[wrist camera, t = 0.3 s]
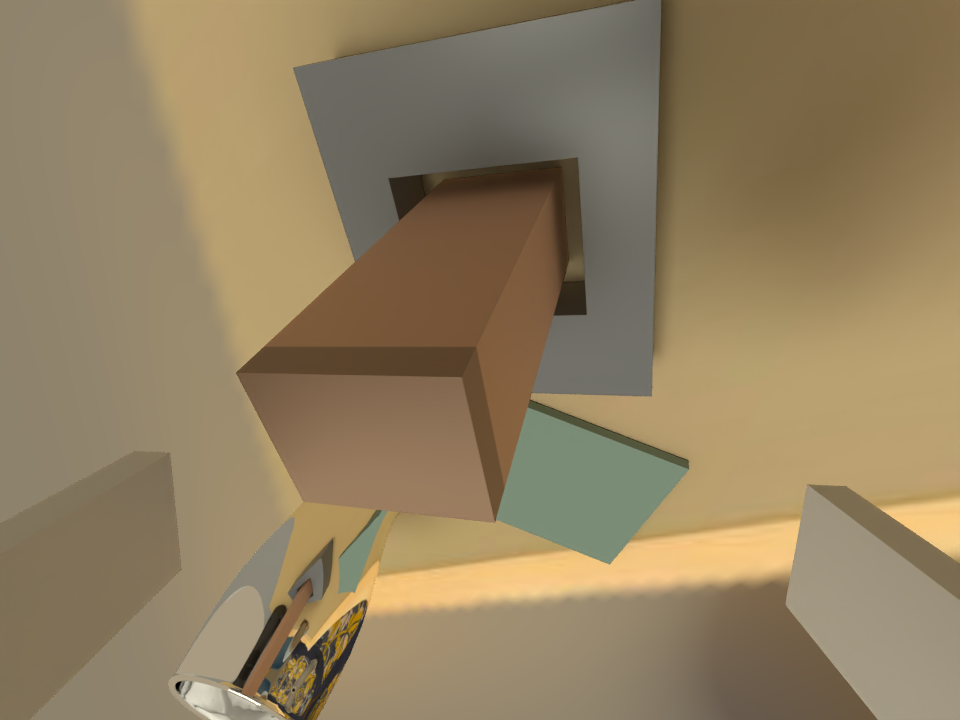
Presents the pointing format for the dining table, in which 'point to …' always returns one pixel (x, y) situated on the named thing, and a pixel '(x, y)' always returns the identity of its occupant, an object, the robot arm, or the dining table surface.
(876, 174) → the dining table surface
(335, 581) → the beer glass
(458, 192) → the brown tall block
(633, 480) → the mat
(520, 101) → the socket block
